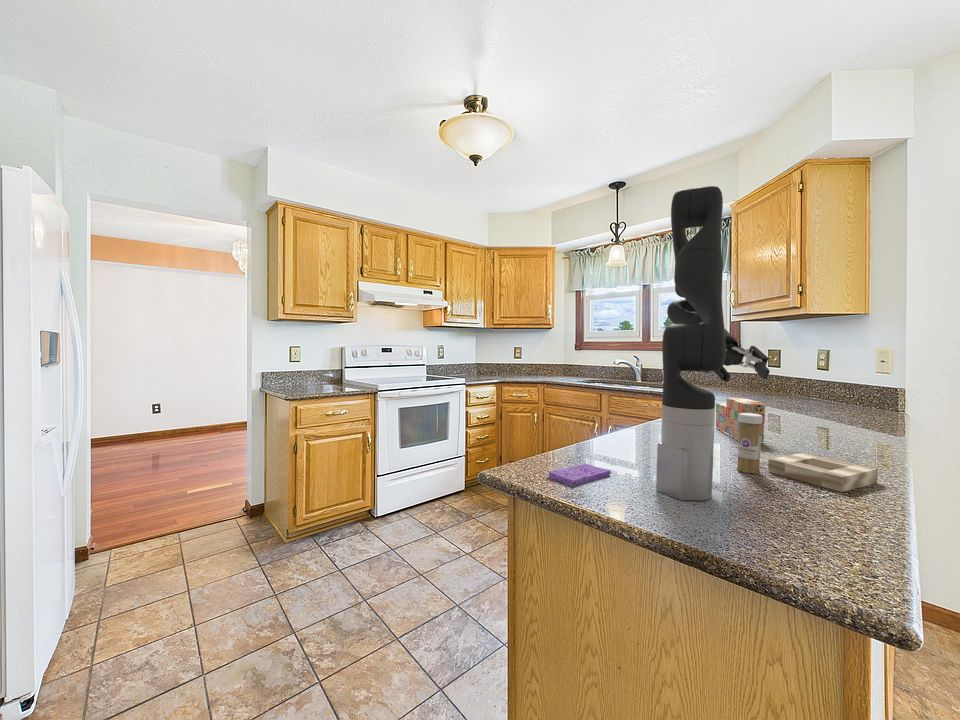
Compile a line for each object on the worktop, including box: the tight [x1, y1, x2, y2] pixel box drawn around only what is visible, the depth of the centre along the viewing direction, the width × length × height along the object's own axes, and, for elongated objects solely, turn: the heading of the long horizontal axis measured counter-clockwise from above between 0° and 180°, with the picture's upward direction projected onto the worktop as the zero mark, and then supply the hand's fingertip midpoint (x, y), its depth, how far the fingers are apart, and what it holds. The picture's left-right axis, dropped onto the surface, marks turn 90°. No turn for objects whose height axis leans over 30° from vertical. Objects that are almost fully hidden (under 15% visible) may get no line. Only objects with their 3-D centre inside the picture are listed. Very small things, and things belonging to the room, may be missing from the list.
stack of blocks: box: [715, 397, 766, 443], centre depth 133 cm, size 21×6×12 cm, turn 169°
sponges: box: [548, 463, 612, 487], centre depth 89 cm, size 7×13×2 cm, turn 126°
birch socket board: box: [767, 452, 879, 493], centre depth 90 cm, size 14×14×3 cm
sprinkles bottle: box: [736, 413, 762, 474], centre depth 94 cm, size 5×5×14 cm
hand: (747, 377), depth 93 cm, fingers open, 8 cm apart
